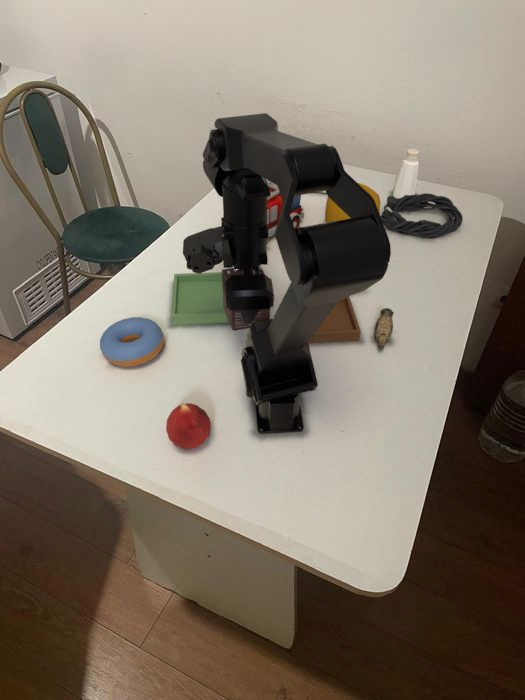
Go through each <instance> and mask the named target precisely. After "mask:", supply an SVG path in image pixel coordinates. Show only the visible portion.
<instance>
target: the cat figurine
mask: <svg viewBox="0 0 525 700" xmlns="http://www.w3.org/2000/svg"><path fill="white" fill-rule="evenodd" d="M394 313H395V312H394V311H393V310H392V309H390V308H388V307H385V308H383V309H381V310H380V314H379V316H378V318H377V320H376V322H375V328H374V329H375V332H374V335H375V341H378V345H377V347H378V350H379V351H380V350H381V351H383V350H384V349H385V347H386V343H388V342H389V339H391V337H392V333H393V328H394V323H393V322H394V321H393V317H394Z"/></svg>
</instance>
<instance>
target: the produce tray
mask: <svg viewBox="0 0 525 700" xmlns="http://www.w3.org/2000/svg"><path fill="white" fill-rule="evenodd" d="M170 314H171V315H170V316H171V323H172V326H184V325H209V324H210V325H212V324H229V321H228V318H227V316H226V313H225V310H224V308H223V285H222V271H220V272H218V271H216V272H203V273H200V274H198V273H194V272H191V273H174V275H173V287H172V301H171V313H170Z"/></svg>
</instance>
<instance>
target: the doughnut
mask: <svg viewBox="0 0 525 700" xmlns="http://www.w3.org/2000/svg"><path fill="white" fill-rule="evenodd" d="M164 343H165V337H164V333H163V330H162V328H161V326H159V325H158V323H157V322H156V321H155V320H152V319H150V318H147V317H142V316H141V317H140V316H137V317H136V316H135V317H128V318H123V319H121V320H118V321H116V322H113V324H111V325H109V326H108V328H106V329H105V330H104V331H103V333H102V334H101V337H100V339H99V350H100V351H101V354H102V355H103V356H104V358H105V359H106V361H108V362H109V363H110V364H113V365H115V366H119V367H125V368H126V367H128V368H129V367H136V366H140V365H143V364H146V363H148V362H150V361H151V360H152V359H154V358H155V357H157V356H158V355H159V353H160V352H161V351H162V349H163V346H164Z"/></svg>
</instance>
